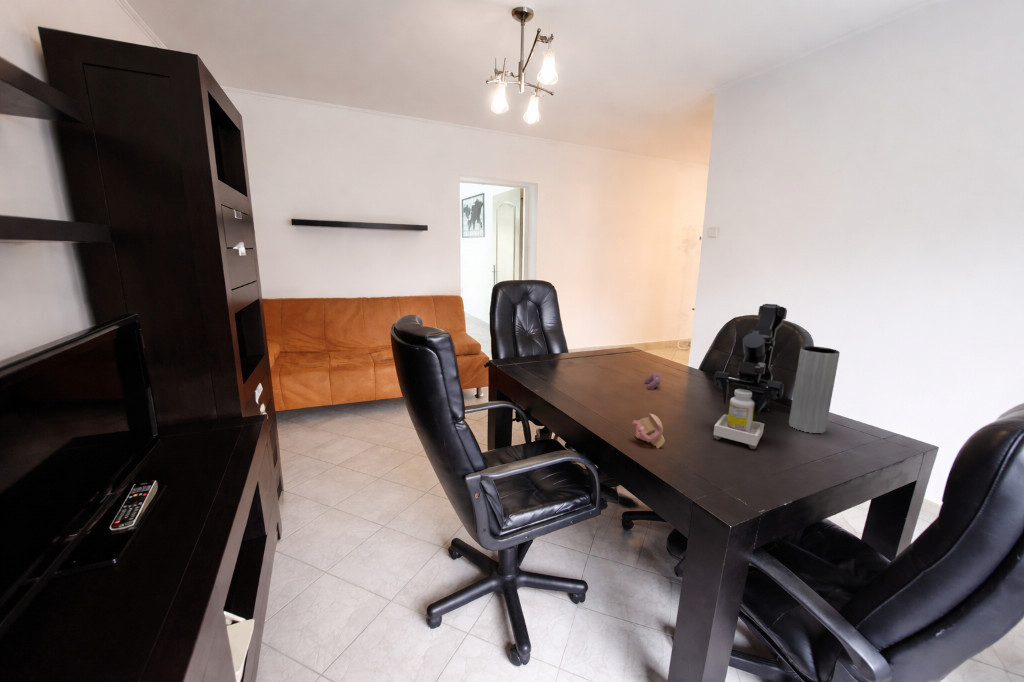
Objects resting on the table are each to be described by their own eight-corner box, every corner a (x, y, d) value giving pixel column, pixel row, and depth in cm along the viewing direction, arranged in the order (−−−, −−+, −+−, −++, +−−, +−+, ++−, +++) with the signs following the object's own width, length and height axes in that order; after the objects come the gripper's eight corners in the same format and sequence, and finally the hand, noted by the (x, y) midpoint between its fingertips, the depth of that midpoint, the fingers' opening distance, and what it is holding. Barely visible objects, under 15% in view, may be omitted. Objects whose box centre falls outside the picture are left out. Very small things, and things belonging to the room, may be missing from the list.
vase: (792, 419, 139) (804, 344, 134) (827, 427, 132) (842, 349, 127) (785, 427, 133) (797, 349, 127) (822, 437, 126) (837, 354, 120)
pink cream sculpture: (636, 433, 130) (660, 416, 127) (654, 459, 122) (679, 441, 120) (624, 426, 124) (648, 407, 121) (641, 452, 116) (667, 433, 114)
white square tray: (722, 427, 133) (723, 414, 132) (762, 437, 125) (764, 423, 124) (712, 439, 124) (714, 425, 123) (755, 451, 117) (757, 436, 116)
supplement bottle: (739, 424, 128) (744, 387, 125) (756, 433, 122) (761, 394, 119) (721, 426, 127) (726, 388, 124) (738, 435, 120) (743, 396, 117)
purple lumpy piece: (655, 393, 170) (664, 380, 168) (645, 388, 170) (654, 375, 168) (652, 386, 179) (660, 373, 177) (643, 381, 180) (651, 368, 178)
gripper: (718, 347, 128) (705, 388, 122) (787, 356, 116) (776, 402, 110) (721, 365, 135) (709, 404, 129) (787, 376, 123) (777, 419, 117)
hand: (740, 407), depth 121 cm, fingers open, 9 cm apart
